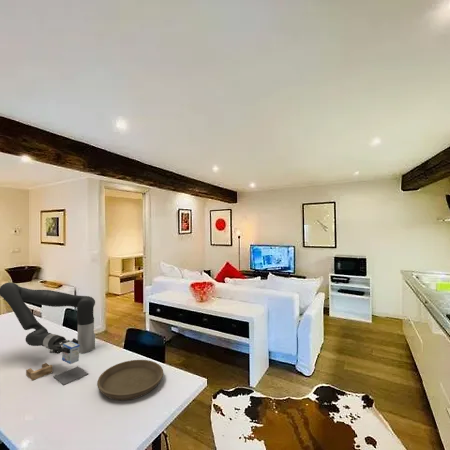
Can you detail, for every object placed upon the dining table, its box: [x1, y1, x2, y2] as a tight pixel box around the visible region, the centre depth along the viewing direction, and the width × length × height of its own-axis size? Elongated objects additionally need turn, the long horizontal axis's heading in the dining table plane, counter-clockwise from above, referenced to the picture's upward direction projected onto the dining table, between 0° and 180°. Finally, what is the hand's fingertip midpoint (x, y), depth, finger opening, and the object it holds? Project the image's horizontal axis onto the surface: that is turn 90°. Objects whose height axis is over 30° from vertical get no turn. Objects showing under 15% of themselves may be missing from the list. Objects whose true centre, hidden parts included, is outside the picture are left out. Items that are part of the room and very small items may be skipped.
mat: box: [53, 365, 89, 386], centre depth 136 cm, size 12×12×1 cm
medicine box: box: [61, 340, 80, 365], centre depth 136 cm, size 8×4×9 cm, turn 62°
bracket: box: [25, 362, 54, 381], centre depth 138 cm, size 9×9×4 cm
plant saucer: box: [96, 359, 164, 401], centre depth 130 cm, size 31×31×5 cm
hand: (74, 349), depth 135 cm, fingers closed on medicine box, 4 cm apart
